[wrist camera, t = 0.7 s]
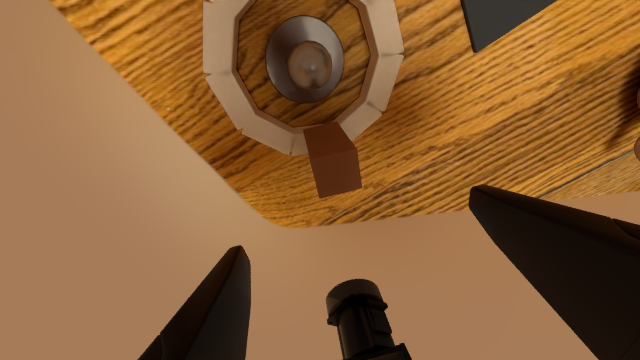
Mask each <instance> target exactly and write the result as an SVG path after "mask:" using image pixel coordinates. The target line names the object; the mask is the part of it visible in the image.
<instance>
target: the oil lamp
mask: <svg viewBox="0 0 640 360" xmlns="http://www.w3.org/2000/svg"><path fill="white" fill-rule="evenodd" d="M637 104H638V107H639V108H640V87H639V90H638V94H637ZM634 152H635V155H636V157H637V158H638V159H639V161H640V137H638V139H637V141H636V143H635V144H634Z"/></svg>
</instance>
